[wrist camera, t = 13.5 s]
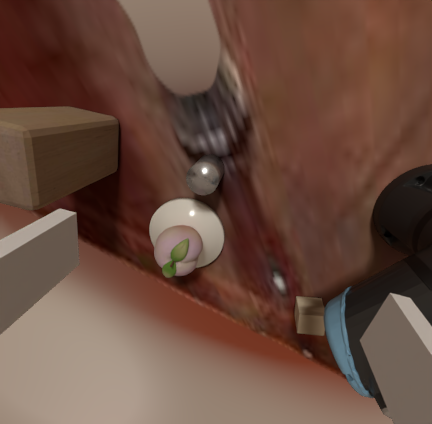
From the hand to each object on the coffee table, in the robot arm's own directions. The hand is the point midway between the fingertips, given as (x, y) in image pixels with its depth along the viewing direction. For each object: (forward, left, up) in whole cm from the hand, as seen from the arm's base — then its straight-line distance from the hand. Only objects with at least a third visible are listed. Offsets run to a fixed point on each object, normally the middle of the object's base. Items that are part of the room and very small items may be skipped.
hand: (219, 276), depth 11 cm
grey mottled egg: (+6, +5, -35) cm, 36 cm away
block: (+28, +5, -35) cm, 45 cm away
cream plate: (+8, +19, -35) cm, 40 cm away
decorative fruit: (+8, +19, -33) cm, 39 cm away
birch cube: (-20, +29, -35) cm, 50 cm away
